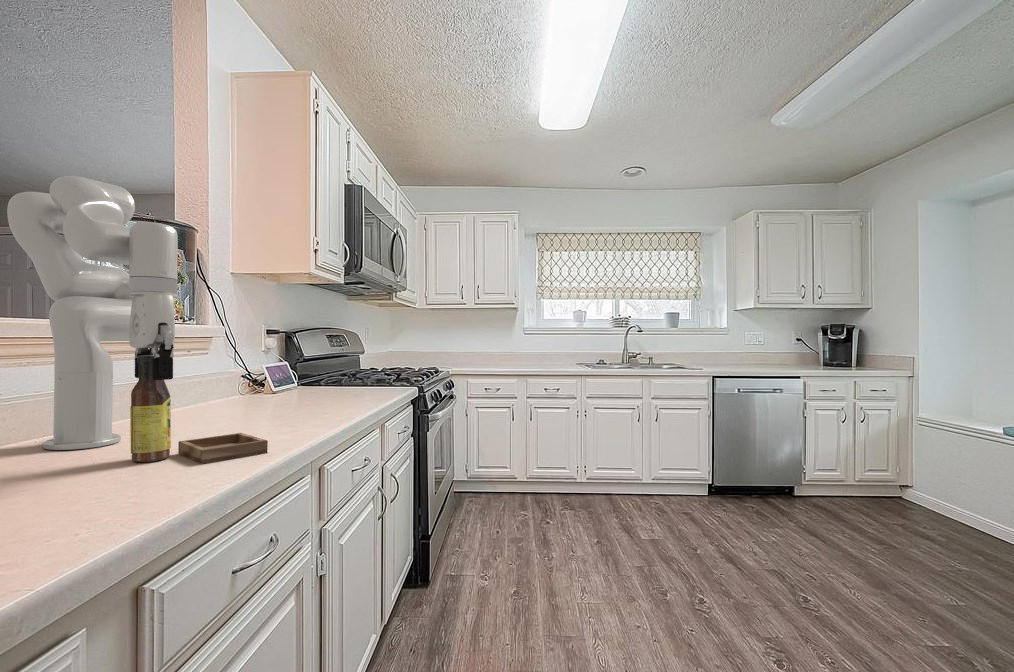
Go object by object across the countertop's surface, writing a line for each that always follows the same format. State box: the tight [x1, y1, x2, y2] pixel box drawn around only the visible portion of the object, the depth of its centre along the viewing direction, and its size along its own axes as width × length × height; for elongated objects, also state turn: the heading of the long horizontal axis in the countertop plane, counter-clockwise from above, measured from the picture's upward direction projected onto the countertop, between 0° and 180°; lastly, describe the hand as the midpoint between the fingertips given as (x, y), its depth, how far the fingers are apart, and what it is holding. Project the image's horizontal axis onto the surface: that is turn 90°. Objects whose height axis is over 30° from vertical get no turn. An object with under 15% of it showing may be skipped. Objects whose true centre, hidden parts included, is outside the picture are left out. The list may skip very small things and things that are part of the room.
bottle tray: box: [177, 432, 268, 465], centre depth 99 cm, size 12×12×2 cm
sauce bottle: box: [129, 354, 172, 463], centre depth 94 cm, size 7×6×20 cm
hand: (153, 378), depth 94 cm, fingers open, 9 cm apart
